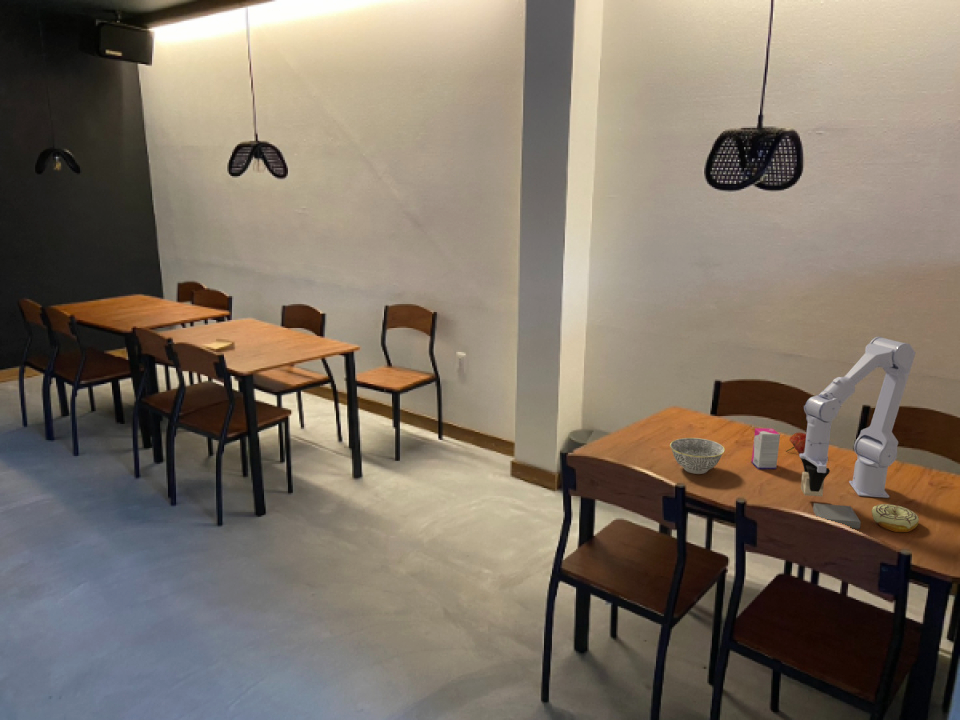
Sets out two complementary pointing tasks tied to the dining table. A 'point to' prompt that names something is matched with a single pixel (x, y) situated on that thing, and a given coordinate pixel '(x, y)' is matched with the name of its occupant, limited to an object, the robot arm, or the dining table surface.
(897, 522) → the decorated donut
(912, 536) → the dining table surface
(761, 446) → the supplement box
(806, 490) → the birch block
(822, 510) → the slate base
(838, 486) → the dining table surface
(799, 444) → the red stemmed fruit
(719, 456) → the bowl
